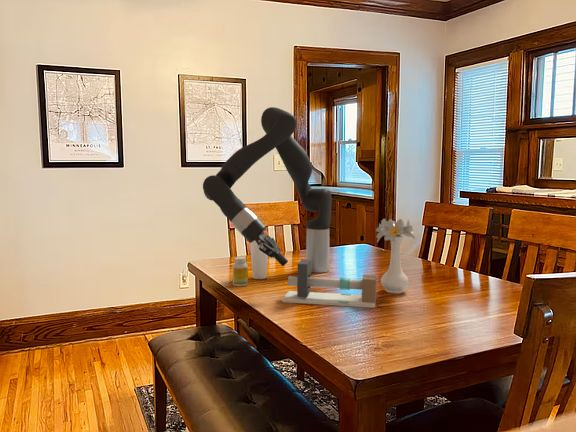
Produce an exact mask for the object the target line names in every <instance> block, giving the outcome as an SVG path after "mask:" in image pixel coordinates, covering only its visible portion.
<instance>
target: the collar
mask: <svg viewBox="0 0 576 432" xmlns="http://www.w3.org/2000/svg"><path fill="white" fill-rule="evenodd" d="M296 277H297V286H296V287H297V289H296V291H297V297H307V296H308V294H309V293H310V292H312V291H311V289H312V287H308V277H312V272H311V260H309V259H306V258H305V259H304V258H302V259H301V260H300V261H298V263H297V276H296Z"/></svg>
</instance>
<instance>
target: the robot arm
mask: <svg viewBox="0 0 576 432" xmlns="http://www.w3.org/2000/svg"><path fill="white" fill-rule="evenodd" d="M260 124H261V127H262V129H263V131H264V132H265V135H263V136H262V137H261V138H258V139H257V140H256V141H253V142H251V143H249V144H247V145H245V146H243V147H241V148H239V149H238V150H236V151H235V152H234V153H233V154H232V155H230V157H229V158H228V159H227V160H226V161H225V162H224V163H223V164H222V165H221V168H220V170H219V171H218V172H217V173H216V174H215V175H209V176H207V177H206V178H204V180H203V183H202V189H203V194H204V196H205V198H206V199H208V200H209V201H213V202H214V203H215V204H216V206H217V207H219V209H220V211H221V212H222V214H223V215H224V216H225V217H226V218H227V220H229V222H230V223H231V224H232V225H233V226H234V228H235V229H236V230H237V231H238V232H239V233H240V234H241V236H243V237H244V238H245V240H246V241H247V242H248V243H251V242H253V241H254V240H255V241H256V243H257V244H258V246H259V250H260V251H262V252H263V253H265V254H266V255H268V258H271V259H272V258H273V259H275V260H276V261H277V263H278V264H280V265H281V266H282V267H284V266H286V264H288V261H289V260H288V259H287V258H286V257H285V255H283V254H282V253H281V248H280V247H279V245H278V243H277V241H276V240H275V238H274V237H271V235H269V234H266V233H265V231H266V230H267V226H266V225H265V223H264V222H263V221H262V220H261V219H260V218H259V217H258V216H257V215H256V214H255V213H254V212H253V211H252V210H251V209H249V208H248V207H247V206H246V205H245V204H244V203H243V201H241V200H240V198H239V197H237V195H235V193H234V192H233V190H232V187H233V186H234V185H235V183H236V182H237V181H238V180H239V179H240V178H241V177H243V175H245V174H246V173H247V172H248V170H249V169H250V168H251V167H252V166H253V165H255V164H256V163H257V162H258V161H259V160H260V159H262V158H263V157H264V156H265V155H267V154H269V153H270V152H271V151H273V150H274V149H276V151H277V154H278V155H279V157H280V159H281V161H282V163H283V164H284V167H285V169H286V171H287V172H288V174H289V176H290V177H291V180H292V183H293V184H294V185H295V188H296V190H297V192H298V195H299V198H300V200H301V203H302V206H303V207H304V209H306V211H310V212H318V216H317V217H315V218H312V219H310V220H307V221H306V246H305V247H306V251H305V253H306V256H305V257H306V258H305V259H309V260H311V273H327V272H329V271H330V224H331V220H332V218H331V216H332V201H333V200H332V193H331V191H330V189H328V188H314V187H311V185H310V184H309V180H310V179H311V177H312V174H313V164H312V161H311V160H310V158H309V156H308V153H307V151H306V150H305V149H304V148H303V147H302V146H301V145H300V144H299V143H298V141H296V139H295V138H294V137H293V136H292V135H293V134H294V132H295V131H296V129H297V125H298V124H297V118H296V117H295V115H294V114H293V113H291V112H288V111H286V110H284V109H281V108H279V107H273V106H271V107H267V108H266V109H265V110H264V111H263V112H262V115H261V119H260Z"/></svg>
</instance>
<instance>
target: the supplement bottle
mask: <svg viewBox="0 0 576 432" xmlns="http://www.w3.org/2000/svg"><path fill="white" fill-rule="evenodd" d="M246 262H247V258H246V257H243V256H239V257H234V263H233V265H232V285H233V286H235V287H244V286H248V284H249V276H248V275H249V266H248V263H246Z"/></svg>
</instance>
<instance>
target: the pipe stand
mask: <svg viewBox="0 0 576 432" xmlns="http://www.w3.org/2000/svg"><path fill="white" fill-rule="evenodd" d="M287 285H288V286H289V287H297V276H290V275H289V276H288V278H287ZM288 286H287V287H288ZM308 287H311V288H322V289H324V288H325V289H339V290H347V291H350V290H359V291H361V294H353V293H352V294H351V293H333V292H331V293H330V292H313V291H310V293H309V294H308V296H307V297H297V290H289V291H288V292H287V293H286V294H285V295H284V297H283V298H282V299H281V302H282V303H289V304H291V303H292V304H309V305H322V306H323V305H325V306H342V307H352V308H353V307H356V308H372V309H373V308H374V309H375V308H376V301H377V299H376V298H377V275H373V274H371V275H370V274H363V276H362V279H351V278H348V277H347V278H346V277H345V278H344V277H340V278H333V277H332V278H329V277H314V276H313V277H312V276H311V277H308Z"/></svg>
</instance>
